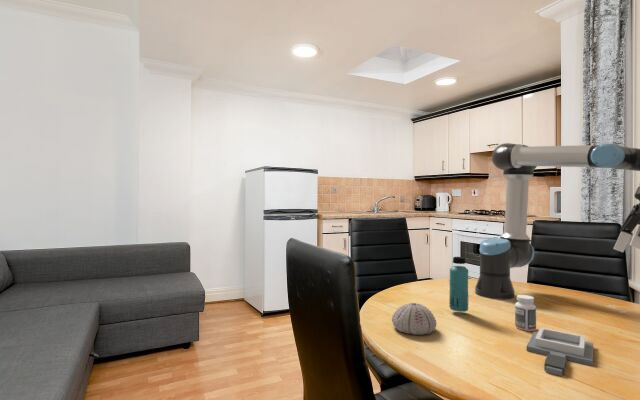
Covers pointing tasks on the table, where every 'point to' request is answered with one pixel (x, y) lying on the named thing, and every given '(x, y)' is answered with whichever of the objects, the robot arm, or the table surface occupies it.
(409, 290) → the table surface
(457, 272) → the beverage bottle
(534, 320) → the pill bottle
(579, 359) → the holder
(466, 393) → the table surface
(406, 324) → the sea urchin shell
